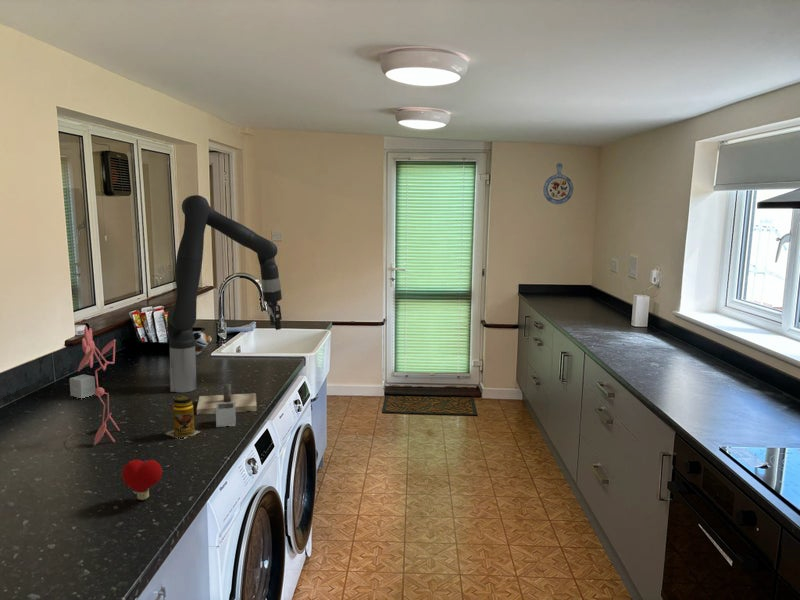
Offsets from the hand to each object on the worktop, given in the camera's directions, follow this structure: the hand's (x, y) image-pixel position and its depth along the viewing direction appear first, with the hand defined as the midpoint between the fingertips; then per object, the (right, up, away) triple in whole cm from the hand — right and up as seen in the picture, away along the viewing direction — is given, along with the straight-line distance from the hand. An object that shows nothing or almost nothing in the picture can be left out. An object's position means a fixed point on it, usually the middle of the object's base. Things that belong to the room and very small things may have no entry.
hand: (275, 327), depth 239 cm
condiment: (-17, -31, -58) cm, 68 cm away
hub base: (-10, -27, -32) cm, 43 cm away
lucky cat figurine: (-49, -15, +39) cm, 64 cm away
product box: (-66, -25, -26) cm, 75 cm away
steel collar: (-6, -30, -49) cm, 57 cm away
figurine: (-42, -31, -64) cm, 82 cm away
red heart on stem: (-11, -38, -99) cm, 107 cm away
